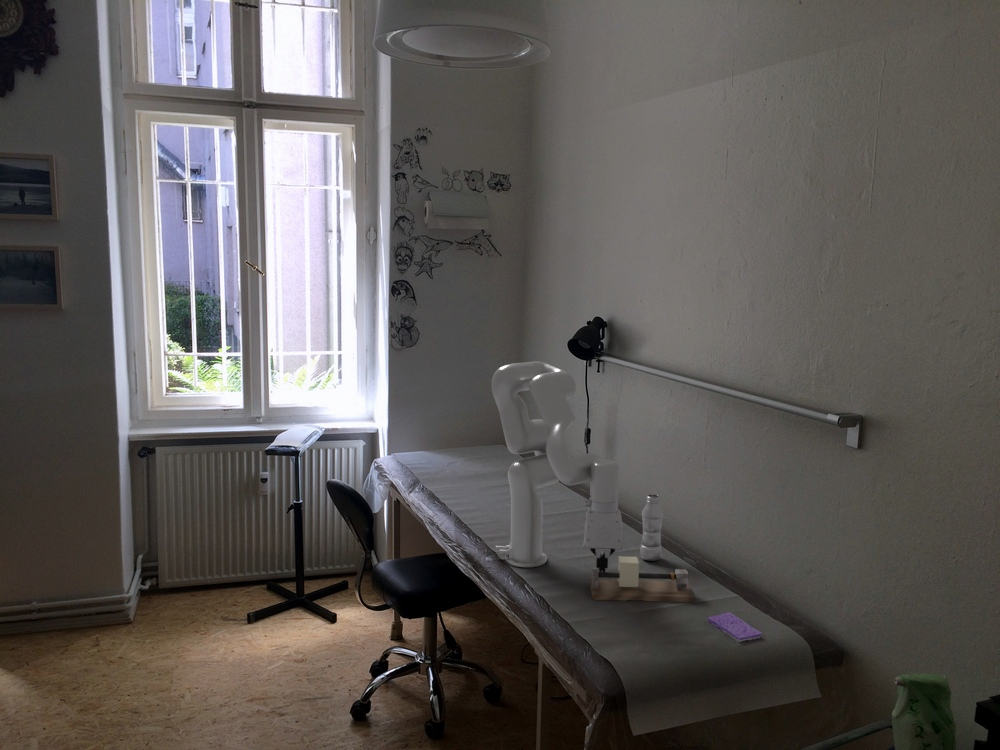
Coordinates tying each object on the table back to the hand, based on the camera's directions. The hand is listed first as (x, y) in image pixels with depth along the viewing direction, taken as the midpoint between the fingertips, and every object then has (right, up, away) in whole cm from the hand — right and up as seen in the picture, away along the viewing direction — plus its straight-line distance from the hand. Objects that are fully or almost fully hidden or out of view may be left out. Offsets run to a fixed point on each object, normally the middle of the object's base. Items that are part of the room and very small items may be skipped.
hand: (601, 570), depth 217 cm
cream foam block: (+7, -4, 0) cm, 8 cm away
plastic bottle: (+18, -3, +25) cm, 31 cm away
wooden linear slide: (+11, -6, +1) cm, 12 cm away
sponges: (+30, -10, -20) cm, 38 cm away
